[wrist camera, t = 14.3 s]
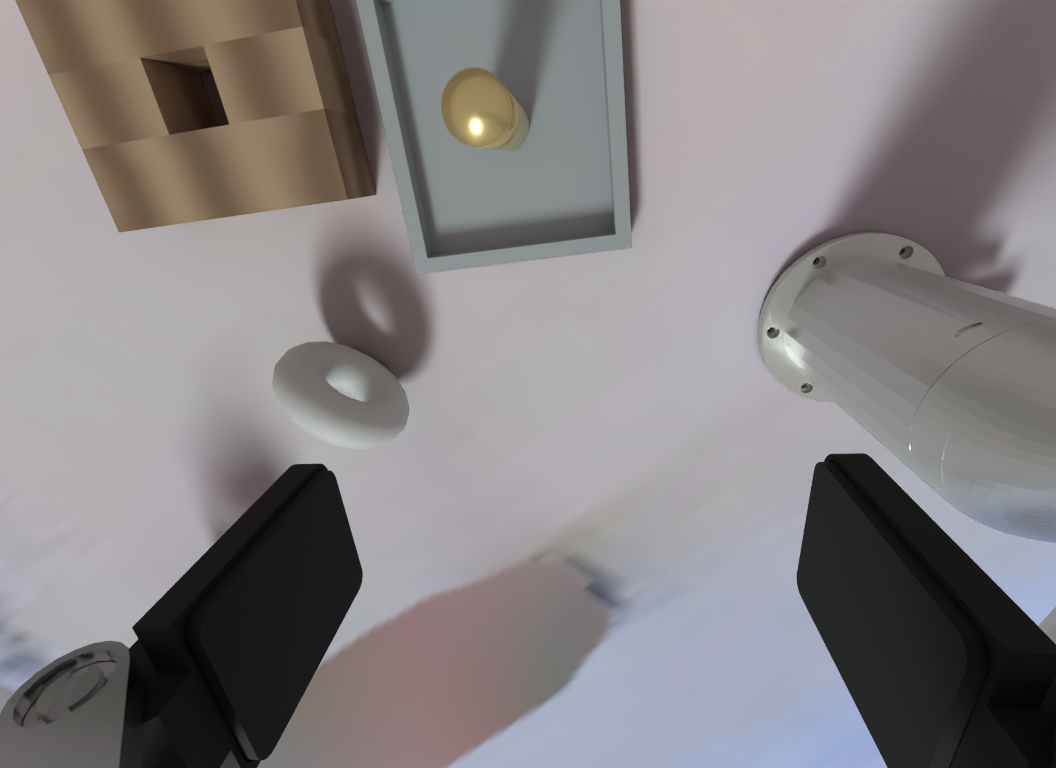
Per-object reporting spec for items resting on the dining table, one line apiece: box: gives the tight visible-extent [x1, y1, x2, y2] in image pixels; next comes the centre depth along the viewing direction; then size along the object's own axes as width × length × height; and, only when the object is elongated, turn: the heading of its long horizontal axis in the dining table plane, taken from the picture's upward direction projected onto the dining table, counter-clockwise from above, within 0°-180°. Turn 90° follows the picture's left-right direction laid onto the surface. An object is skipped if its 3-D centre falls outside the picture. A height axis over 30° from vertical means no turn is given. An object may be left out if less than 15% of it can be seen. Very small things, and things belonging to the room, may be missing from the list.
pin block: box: [15, 0, 376, 232], centre depth 31 cm, size 16×14×5 cm
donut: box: [273, 342, 409, 448], centre depth 36 cm, size 10×4×10 cm, turn 55°
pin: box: [441, 68, 530, 151], centre depth 27 cm, size 3×3×12 cm
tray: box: [356, 0, 632, 274], centre depth 32 cm, size 15×17×2 cm
